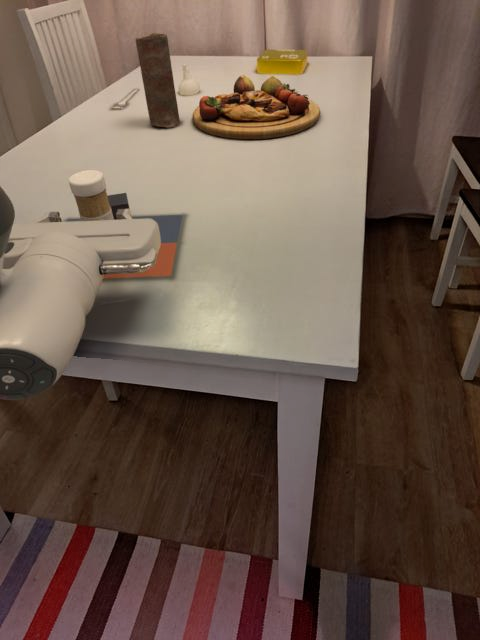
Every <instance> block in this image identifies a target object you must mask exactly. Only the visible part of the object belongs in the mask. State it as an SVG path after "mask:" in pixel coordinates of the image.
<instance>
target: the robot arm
mask: <svg viewBox="0 0 480 640" xmlns="http://www.w3.org/2000/svg"><path fill="white" fill-rule="evenodd" d="M130 212H131V209H130V210H129V209H118V210H117V212H116V217H117V219H118V220H96V221H71V222H67V221H62V217H61V214H60V212H59V211H46V213H45V214H44V216H42V217H40V218H38V219H35V220H34V221H31V222H23V223H21V222H20V223H14V222H15V217H16V212H15V207H14V204H13V202H12V200H11V198H10V197H9V195H8V194H7V193H6V191H5V190H4V189H3V187H1V186H0V400H3V401H4V400H5V401H20V400H21V401H22V400H26V399H31V398H34V397H37V396H38V395H40V394H43V393H44V392H46V391H48V390H49V389H50V388H51V387H52V386H54V385H55V384H56V383H57V382H58V381H59V379H60V378H62V376H63V375H64V373H65V371H66V370H67V368H68V366H69V365H70V362H71V361H72V359H73V357H74V355H75V353H76V351H77V349H78V346H79V344H80V341H81V339H82V337H83V333H84V330H85V327H86V316H88V315H89V313H90V312H91V310H92V309H93V306H94V303H95V301H96V298H97V296H98V293H99V291H100V288H101V285H102V282H103V279H104V278H103V276H104V275H113V274H135V273H140V272H143V271H145V270H147V269H148V268H149V267H153V266H154V265H155V263H156V259H157V254H158V251H159V249H160V246H161V238H160V232H159V227H158V224H157V222H156V221H154V220H153V219H150V218H146V219H133V218H131V217H132V213H131V214H130Z"/></svg>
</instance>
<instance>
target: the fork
mask: <svg viewBox="0 0 480 640" xmlns="http://www.w3.org/2000/svg"><path fill="white" fill-rule="evenodd" d="M137 91H138V89H137V88H136V89H134V90H133V91H132V92H130V94H128V95H127V96H126V97H124V99H122V100H121V101H120V102H119V103H118V105H116V106H114V105H113V106H111V105H110V108H111V109H123V106H119V105H127V104H126V102H127V101H128V100H129V99H130V98H131V97H132V96H133V95H134V94H135V93H136V92H137Z"/></svg>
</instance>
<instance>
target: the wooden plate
mask: <svg viewBox="0 0 480 640" xmlns="http://www.w3.org/2000/svg"><path fill="white" fill-rule="evenodd" d="M290 87H291V86H290V84H289V83H287V84H286V83H285V82H284V83H282V81H281V80H280V79H279V78H277V77H275V75H272V76H270V77H268V78H267V79H266V80H265V81H263V83H262V84H261V86H260V89H255V85H254V83H253V81H252V79H251V78H249V77H248V76H246V75H244V74H242V75H239V76H238V78H236V81H234V85H233V92H232V93H229V94H223V93H222V94H218V95H215V97H214V96H209V95H203V96H202V97H201V98H200V99H199V104H198V106H196V107H195V109H194V111H193V113H192V122H193V123H194V125H195V126H196V127H197V128H198V129H199V130H200V131H202V132H205V133H207V134H209V135H213V136H216V137H222V138H227V139H238V140H239V139H240V140H261V139H263V140H264V139H273V138H279V137H284V136H290V135H293V134H297V133H300V132H302V131H304V130H306V129H309V128H310V127H312V126H314V125H315V124H316V123H317V122H318V121H319V119H320V116H321V109H320V106H319V105H318V104H317V103H316V102H315V101H313V100H312V99H310V98H309V97H308V96H309V95H308V94H300V93H299V92H298V91H297V90H296V89H295V88H292V89H291V88H290Z"/></svg>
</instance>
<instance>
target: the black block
mask: <svg viewBox="0 0 480 640" xmlns="http://www.w3.org/2000/svg"><path fill="white" fill-rule="evenodd" d="M107 196H108V201H109V204H110V207H111V210H112V214H113V218H114V220H118V219H117V217H116V212H117V210H118V209H129V210H130V214H131V215H132V212H131V208H130V203H129V199H128V198H129V197H128V194H127V192H121V193H115V194H109V195H108V194H107ZM132 217H133V216H131V218H132Z"/></svg>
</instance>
